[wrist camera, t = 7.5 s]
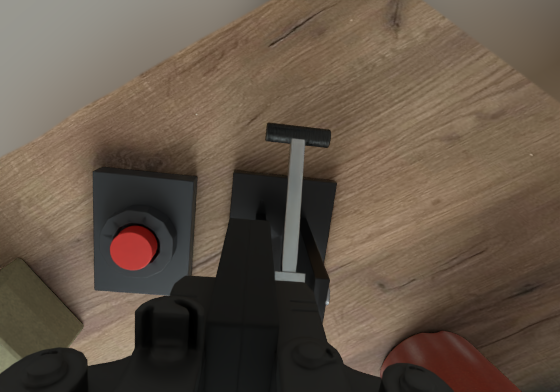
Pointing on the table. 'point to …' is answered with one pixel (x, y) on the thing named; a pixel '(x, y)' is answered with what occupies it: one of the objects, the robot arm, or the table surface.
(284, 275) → the lever
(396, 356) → the flower pot
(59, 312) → the tissue box
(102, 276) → the button block
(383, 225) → the table surface
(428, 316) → the table surface
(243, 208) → the bracket
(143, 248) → the button
